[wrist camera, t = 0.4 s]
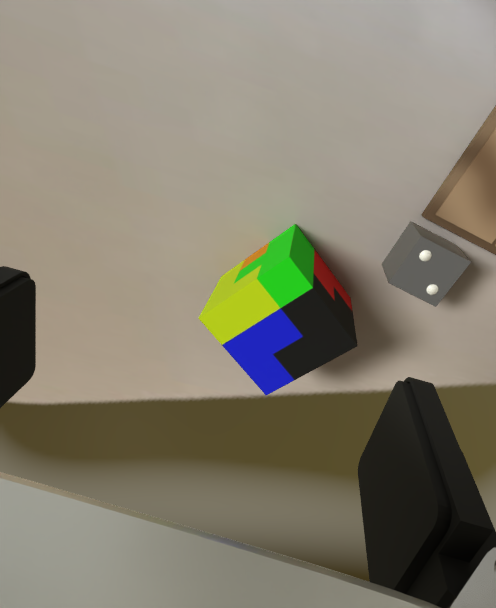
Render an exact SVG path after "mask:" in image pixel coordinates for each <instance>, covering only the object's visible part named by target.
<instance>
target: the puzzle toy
mask: <svg viewBox="0 0 496 608" xmlns="http://www.w3.org/2000/svg"><path fill="white" fill-rule="evenodd" d="M199 319H200V321H201V322H202V323H203V324H204V325H205V326H206V327H207V329H208V330H209V331H210V332H211V333H212V334H213V335H214V337H215V338H216V339H217V340H218V341H219V342H220V343H221V344H222V346H223V347H224V348H225V349H226V350H227V351H228V352H229V354H230V355H231V356H232V357H233V358H234V359H235V360H236V362H237V363H238V364H239V365H240V366H241V367H242V368H243V370H244V371H245V372H246V373H247V374H248V375H249V376H250V378H251V379H252V380H253V381H254V382H255V383H256V384H257V386H258V387H259V388H260V389H261V390H262V391H263V392H264V394H265V395H268V394H270V393H272V392H273V391H275V390H277V389H279V388H281V387H283V386H284V385H286V384H288V383H290V382H292V381H294V380H296V379H297V378H299V377H301V376H303V375H305V374H307V373H309V372H310V371H312V370H314V369H316V368H318V367H320V366H321V365H323V364H325V363H327V362H329V361H331V360H333V359H334V358H336V357H338V356H340V355H342V354H344V353H346V352H347V351H349V350H351V349H353V348H355V347H357V340H356V333H355V326H354V319H353V312H352V305H351V299H350V297H349V295H348V294H347V293H346V291H345V290H344V289H343V287H342V286H341V284H340V283H339V282H338V280H337V279H336V278H335V276H334V275H333V274H332V272H331V271H330V270H329V268H328V267H327V266H326V264H325V263H324V261H323V260H322V259H321V257H320V256H319V255H318V253H317V252H316V251H315V249H314V248H313V247H312V245H311V244H310V243H309V241H308V240H307V238H306V237H305V236H304V234H303V233H302V232H301V230H300V229H299V228H298V226H297V225H296V224H295V225H293V226H292V227H290V228H289V229H288V230H286V231H285V232H283V233H282V234H281V235H279V236H278V237H276V238H275V239H273V240H272V241H271V242H269V243H268V244H266V245H265V246H264V247H262V248H261V249H259V250H258V251H257V252H255V253H254V254H252V255H251V256H250V257H248V258H247V259H245V260H244V261H242V262H241V263H240V264H238V265H237V266H235V267H234V268H233V269H231V270H230V271H228V272H227V273H226V274H224V275H223V276H221V278H220V280H219V282H218V284H217V285H216V287H215V289H214V291H213V293H212V294H211V296H210V298H209V300H208V302H207V304H206V305H205V307H204V309H203V311H202V313H201V314H200V316H199Z"/></svg>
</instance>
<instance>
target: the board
mask: <svg viewBox="0 0 496 608" xmlns="http://www.w3.org/2000/svg"><path fill="white" fill-rule="evenodd" d="M422 216H423V217H424V218H426V219H428V220H430V221H432V222H434V223H436V224H437V225H439V226H441V227H443V228H445V229H447V230H449V231H451V232H453V233H455V234H457V235H459V236H461V237H463V238H464V239H466V240H468V241H470V242H472V243H474V244H476V245H478V246H480V247H482V248H484V249H486V250H488V251H490V252H491V253H493V254H495V255H496V106H495V107H494V109H493V110H492V112H491V113H490V115H489V116H488V118H487V119H486V121H485V122H484V124H483V125H482V126H481V128H480V129H479V131H478V132H477V134H476V135H475V137H474V138H473V140H472V141H471V143H470V144H469V146H468V147H467V148H466V150H465V151H464V153H463V154H462V156H461V157H460V159H459V160H458V162H457V163H456V165H455V166H454V168H453V169H452V171H451V172H450V173H449V175H448V176H447V178H446V179H445V181H444V182H443V184H442V185H441V187H440V188H439V190H438V191H437V193H436V194H435V195H434V197H433V198H432V200H431V201H430V203H429V204H428V206H427V207H426V209H425V210H424V212H423V213H422Z"/></svg>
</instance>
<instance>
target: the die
mask: <svg viewBox="0 0 496 608" xmlns="http://www.w3.org/2000/svg"><path fill="white" fill-rule="evenodd" d="M470 263H471V261H470V260H469V259H468V258H467V257H466V256H465V255H464V253H463V252H462V251H461V250H460V249H459V248H458V247H457V246H456V245H455V244H453V243H452V242H450V241H448V240H446V239H444V238H442V237H440V236H438V235H436V234H434V233H432V232H430V231H428V230H426V229H424V228H422V227H421V226H419V225H417V224H415V223H413V222H411V221H410V223H409V224H408V226H407V227H406V229H405V230H404V232H403V233H402V235H401V236H400V238H399V239H398V241H397V242H396V244H395V245H394V247H393V248H392V250H391V251H390V253H389V254H388V256H387V257H386V259H385V260H384V262H383V263H382V266H383V269H384V272H385V274H386V277H387V280H388V283H390V284H392V285H394V286H396V287H398V288H400V289H402V290H404V291H405V292H407V293H409V294H411V295H413V296H415V297H417V298H419V299H421V300H423V301H425V302H427V303H429V304H431V305H433V306H435V307H436V306H437V305H438V304H439V302H440V301H441V300H442V298H443V297H444V296H445V295H446V293H447V292H448V291H449V290H450V288H451V287H452V286H453V284H454V283H455V282H456V281H457V279H458V278H459V277H460V276H461V274H462V273H463V272H464V270H465V269H466V268H467V267H468V265H469V264H470Z"/></svg>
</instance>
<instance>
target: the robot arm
mask: <svg viewBox="0 0 496 608" xmlns="http://www.w3.org/2000/svg"><path fill="white" fill-rule="evenodd" d="M35 302H36V287H35V282H34V281H33V280H31V279H30V276H29V274H28V273H27V272H24V271H20V270H16V269H13V268H9V267H5V266H3V267H0V408H1V407H2V406H3V405H4V404H5V403H6V402H7V401H8V400H9V399H10V398H11V397H12V396H13V395H14V394H15V393H16V392H17V391H18V390H19V389H21V388H22V387H23V386H24V385H25V384H26V383H27V382H28V381H29V380H30V379H31V377H32V376H33V373H34V371H35ZM358 478H359V487H360V496H361V506H362V515H363V523H364V533H365V542H366V552H367V560H368V570H369V579H370V582H368V581H365V580H361V579H358V578H355V577H352V576H349V575H345V574H343V573H339V572H336V571H333V570H330V569H327V568H324V567H320V566H317V565H314V564H311V563H308V562H304V561H301V560H298V559H294V558H291V557H288V556H284V555H281V554H278V553H274V552H271V551H268V550H264V549H261V548H258V547H254V546H251V545H247V544H244V543H241V542H237V541H234V540H231V539H227V538H224V537H221V536H217V535H214V534H210V533H207V532H204V531H200V530H197V529H194V528H190V527H187V526H184V525H181V524H177V523H173V522H170V521H167V520H164V519H160V518H156V517H153V516H150V515H146V514H143V513H140V512H136V511H133V510H129V509H126V508H122V507H119V506H115V505H112V504H109V503H106V502H102V501H99V500H95V499H92V498H88V497H85V496H81V495H78V494H74V493H71V492H67V491H64V490H61V489H57V488H54V487H51V486H47V485H44V484H40V483H37V482H33V481H30V480H26V479H23V478H19V477H15V476H12V475H9V474H5V473H2V472H0V608H496V532H495V529H494V527H493V525H492V522H491V520H490V517H489V515H488V513H487V510H486V508H485V505H484V503H483V501H482V498H481V496H480V493H479V491H478V488H477V486H476V484H475V481H474V479H473V477H472V474H471V472H470V469H469V467H468V464H467V462H466V460H465V457H464V455H463V453H462V451H461V449H460V447H459V445H458V442H457V440H456V438H455V435H454V433H453V430H452V428H451V426H450V423H449V421H448V418H447V416H446V414H445V412H444V409H443V406H442V404H441V401H440V399H439V397H438V394H437V392H436V389H435V387H434V385H433V384H432V383H429V382H425V381H422V380H418V379H414V378H411V377H408V378H406V379H405V381H404V382H403V381H398V382H397V383H396V384H395V386H394V388H393V390H392V392H391V395H390V397H389V399H388V401H387V403H386V405H385V407H384V409H383V412H382V414H381V416H380V418H379V420H378V422H377V424H376V426H375V428H374V430H373V433H372V435H371V437H370V439H369V441H368V443H367V445H366V447H365V450H364V452H363V454H362V456H361V458H360V462H359V466H358Z"/></svg>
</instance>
